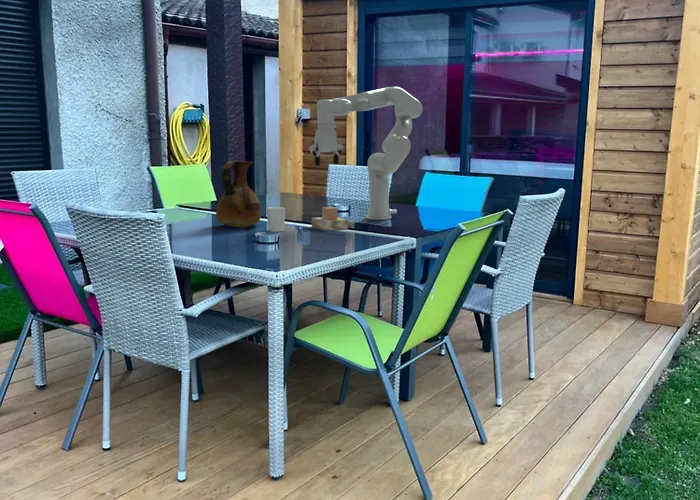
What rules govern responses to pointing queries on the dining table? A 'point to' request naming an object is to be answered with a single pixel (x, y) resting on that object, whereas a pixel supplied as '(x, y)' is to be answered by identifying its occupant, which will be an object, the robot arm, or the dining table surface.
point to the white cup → (276, 218)
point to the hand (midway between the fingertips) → (326, 164)
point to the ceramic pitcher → (237, 197)
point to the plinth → (329, 224)
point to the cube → (329, 213)
